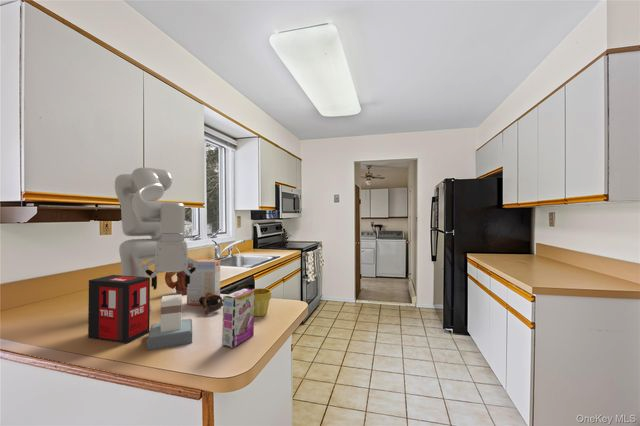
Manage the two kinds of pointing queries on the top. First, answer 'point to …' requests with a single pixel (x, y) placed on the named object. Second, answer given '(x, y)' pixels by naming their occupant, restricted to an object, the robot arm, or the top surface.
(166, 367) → the top surface
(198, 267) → the cracker box
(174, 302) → the cream carton
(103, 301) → the cleaning product box
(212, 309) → the brown clay jug
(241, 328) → the candy bar box
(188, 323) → the display podium
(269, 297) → the plant pot
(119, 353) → the top surface
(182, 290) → the mug
